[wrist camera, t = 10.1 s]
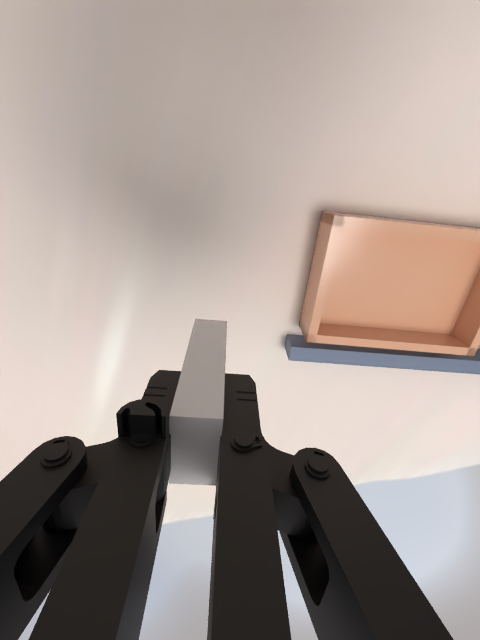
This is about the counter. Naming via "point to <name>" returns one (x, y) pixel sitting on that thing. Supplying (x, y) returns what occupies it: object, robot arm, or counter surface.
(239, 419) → the robot arm
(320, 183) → the counter surface
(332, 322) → the dish
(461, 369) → the blue-grey box with strip
